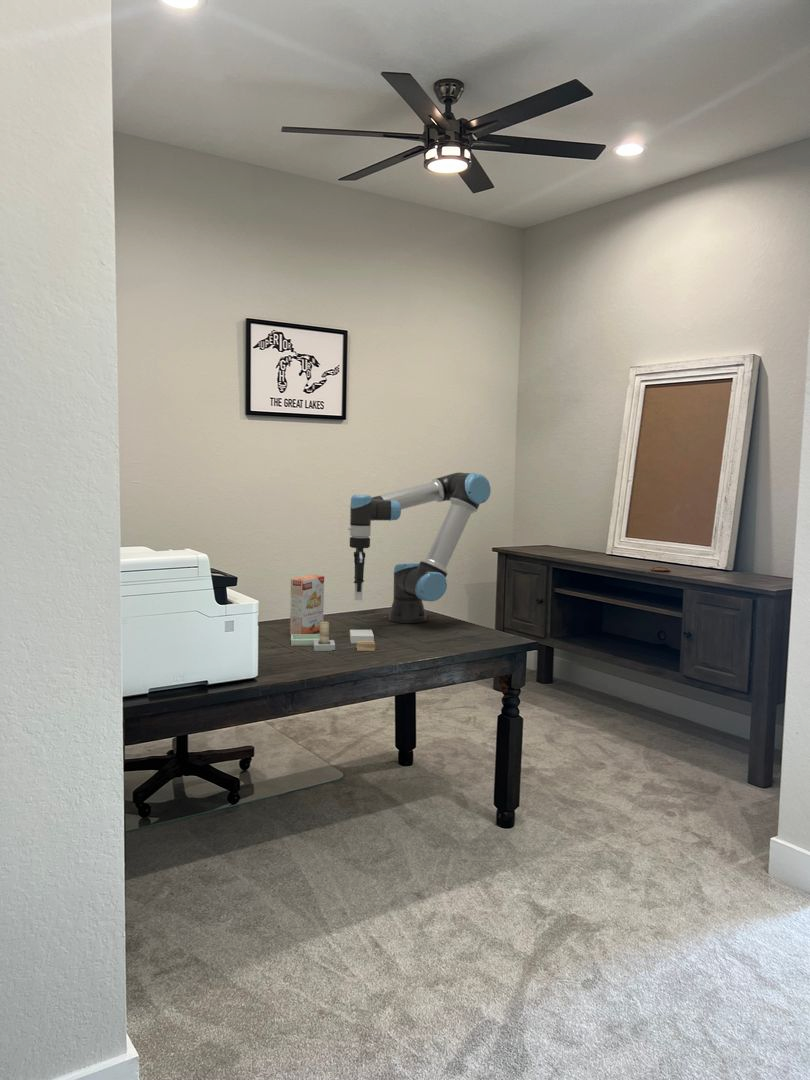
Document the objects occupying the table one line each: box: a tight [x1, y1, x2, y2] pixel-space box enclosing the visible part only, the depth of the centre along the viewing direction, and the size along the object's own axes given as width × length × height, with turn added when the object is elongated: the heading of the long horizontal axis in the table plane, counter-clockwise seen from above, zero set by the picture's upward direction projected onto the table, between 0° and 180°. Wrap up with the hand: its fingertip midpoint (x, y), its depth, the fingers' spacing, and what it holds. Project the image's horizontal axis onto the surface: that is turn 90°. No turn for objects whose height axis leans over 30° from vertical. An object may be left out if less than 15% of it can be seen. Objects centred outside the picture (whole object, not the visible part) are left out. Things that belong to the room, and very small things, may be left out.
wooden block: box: [355, 640, 376, 652], centre depth 267 cm, size 4×6×2 cm, turn 99°
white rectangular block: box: [349, 629, 375, 644], centre depth 280 cm, size 10×8×3 cm
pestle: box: [319, 621, 330, 644], centre depth 267 cm, size 3×3×9 cm
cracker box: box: [289, 574, 325, 635], centre depth 289 cm, size 14×6×21 cm, turn 152°
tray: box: [290, 633, 320, 647], centre depth 274 cm, size 9×12×2 cm
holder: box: [312, 639, 336, 652], centre depth 267 cm, size 7×7×2 cm
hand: (358, 600), depth 289 cm, fingers closed
